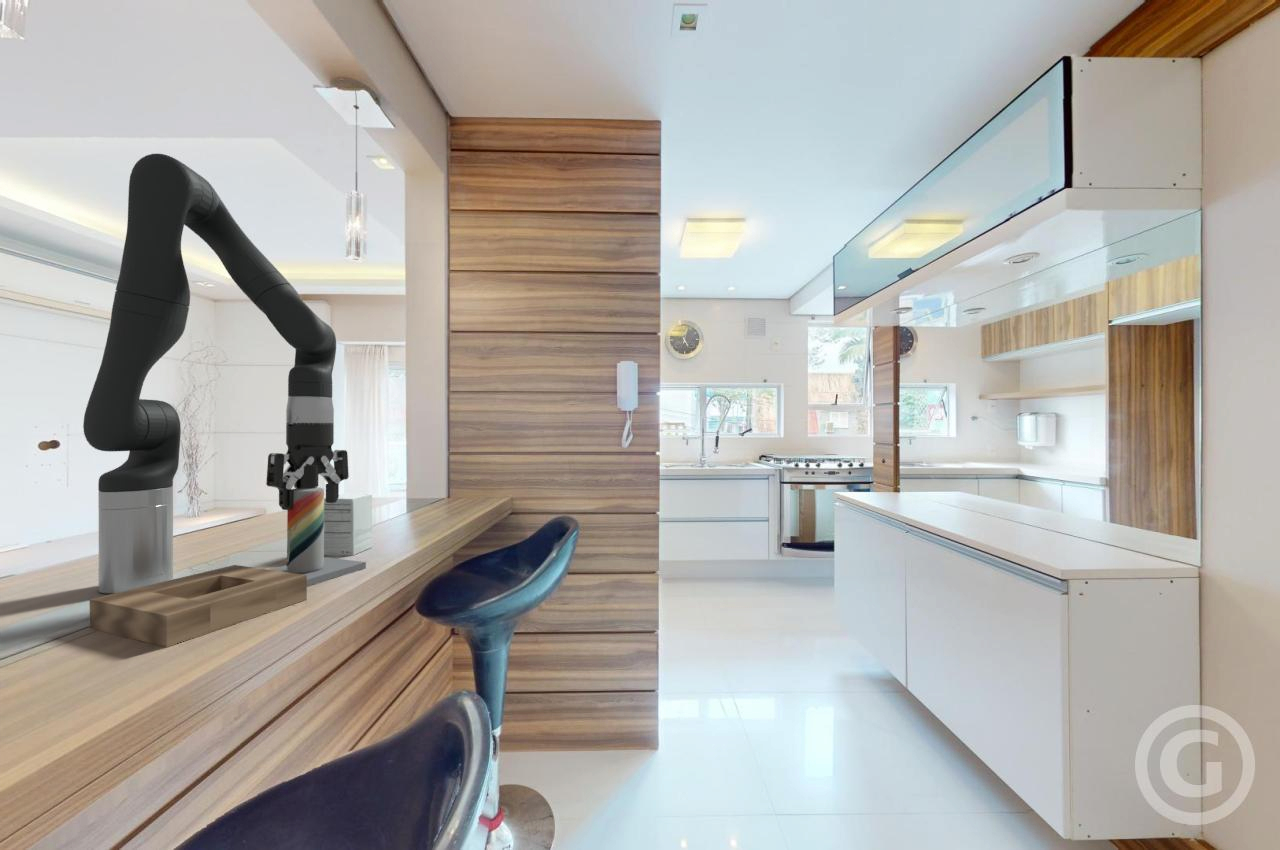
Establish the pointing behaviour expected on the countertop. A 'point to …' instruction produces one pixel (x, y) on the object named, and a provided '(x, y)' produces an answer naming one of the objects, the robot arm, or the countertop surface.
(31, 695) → the countertop surface
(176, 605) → the block
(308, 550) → the lotion bottle
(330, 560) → the rubber mat
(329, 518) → the supplement box
